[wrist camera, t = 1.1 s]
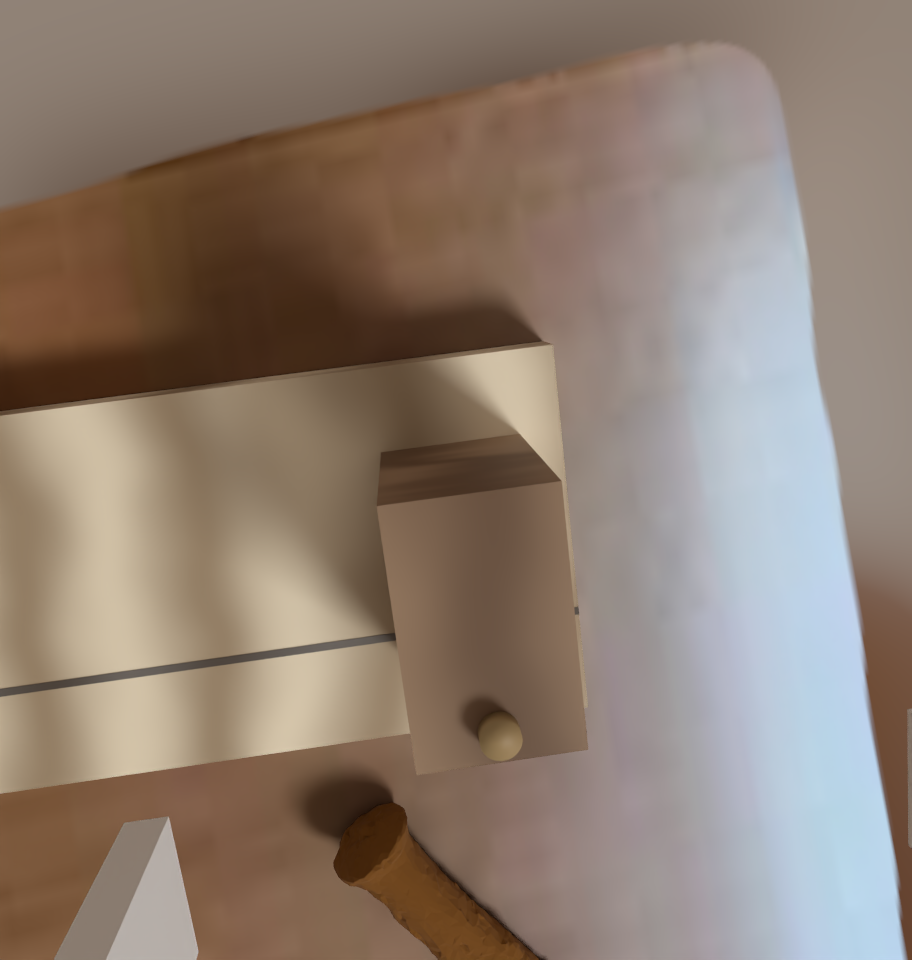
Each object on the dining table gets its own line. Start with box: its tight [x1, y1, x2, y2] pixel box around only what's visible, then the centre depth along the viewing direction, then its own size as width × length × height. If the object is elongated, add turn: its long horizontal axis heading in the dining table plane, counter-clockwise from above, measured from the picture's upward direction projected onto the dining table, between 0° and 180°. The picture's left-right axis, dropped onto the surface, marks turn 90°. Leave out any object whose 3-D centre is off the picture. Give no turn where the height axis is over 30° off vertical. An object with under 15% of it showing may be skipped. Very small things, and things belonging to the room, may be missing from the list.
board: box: [0, 341, 588, 794], centre depth 32 cm, size 28×14×2 cm, turn 97°
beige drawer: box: [377, 434, 588, 775], centre depth 28 cm, size 5×8×9 cm, turn 7°
